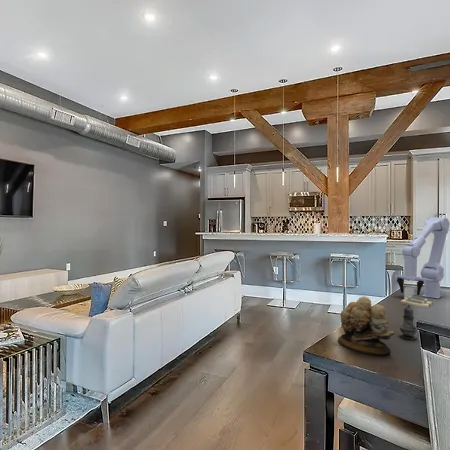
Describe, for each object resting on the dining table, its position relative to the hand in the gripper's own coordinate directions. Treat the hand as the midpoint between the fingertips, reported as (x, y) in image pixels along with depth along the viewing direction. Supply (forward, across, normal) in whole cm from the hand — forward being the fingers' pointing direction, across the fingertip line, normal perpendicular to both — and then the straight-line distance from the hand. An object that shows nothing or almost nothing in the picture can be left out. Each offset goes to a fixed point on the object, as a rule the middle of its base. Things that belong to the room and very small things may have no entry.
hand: (410, 293), depth 174 cm
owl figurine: (+3, +7, -85) cm, 85 cm away
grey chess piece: (+3, +15, -65) cm, 67 cm away
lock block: (+3, 0, 0) cm, 3 cm away
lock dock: (+3, +5, -9) cm, 11 cm away
